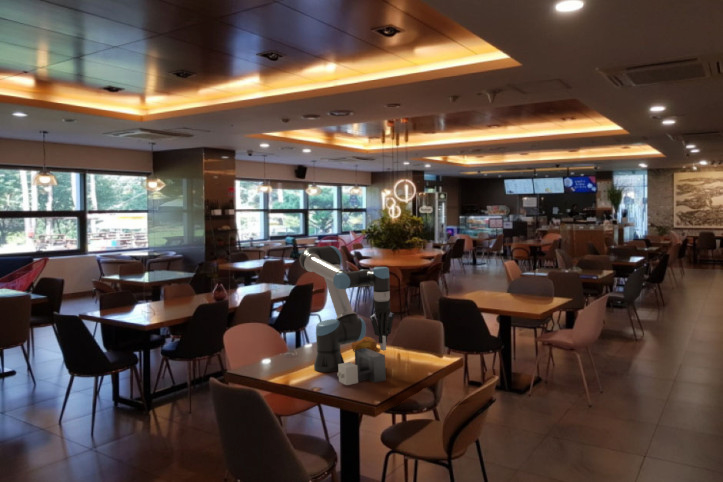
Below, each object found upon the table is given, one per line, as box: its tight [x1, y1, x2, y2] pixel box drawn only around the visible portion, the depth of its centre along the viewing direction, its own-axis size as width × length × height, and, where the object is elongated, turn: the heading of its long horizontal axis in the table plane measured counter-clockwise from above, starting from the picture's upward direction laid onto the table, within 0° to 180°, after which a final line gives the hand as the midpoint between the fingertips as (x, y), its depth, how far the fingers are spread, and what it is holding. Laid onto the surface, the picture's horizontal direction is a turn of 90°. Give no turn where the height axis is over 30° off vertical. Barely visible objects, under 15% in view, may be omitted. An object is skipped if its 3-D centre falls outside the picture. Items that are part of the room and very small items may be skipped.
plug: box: [336, 361, 387, 386], centre depth 249 cm, size 7×24×8 cm, turn 121°
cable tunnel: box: [354, 348, 387, 384], centre depth 251 cm, size 17×6×12 cm, turn 31°
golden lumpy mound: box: [350, 336, 378, 351], centre depth 304 cm, size 14×16×8 cm
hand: (383, 349), depth 255 cm, fingers closed
